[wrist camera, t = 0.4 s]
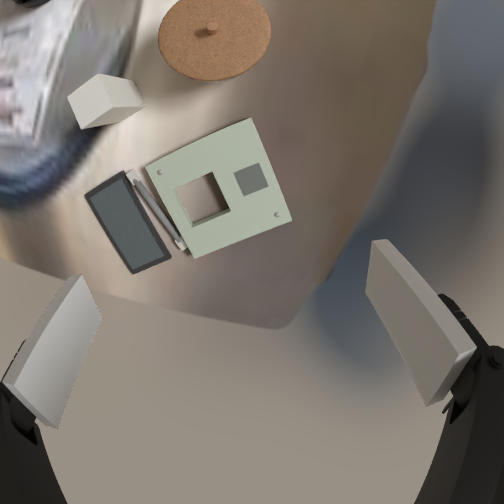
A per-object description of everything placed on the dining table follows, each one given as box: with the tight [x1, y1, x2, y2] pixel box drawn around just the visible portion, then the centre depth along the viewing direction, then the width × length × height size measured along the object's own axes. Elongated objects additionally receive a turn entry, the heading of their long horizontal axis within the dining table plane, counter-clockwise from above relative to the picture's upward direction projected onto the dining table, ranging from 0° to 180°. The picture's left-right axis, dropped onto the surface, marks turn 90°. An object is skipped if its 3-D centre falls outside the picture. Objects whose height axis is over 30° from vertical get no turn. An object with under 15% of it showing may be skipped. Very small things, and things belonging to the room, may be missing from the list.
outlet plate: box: [145, 117, 292, 258], centre depth 34 cm, size 14×14×2 cm
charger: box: [67, 74, 146, 129], centre depth 24 cm, size 4×4×10 cm
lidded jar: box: [158, 0, 271, 82], centre depth 22 cm, size 11×11×9 cm
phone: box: [85, 170, 172, 274], centre depth 37 cm, size 14×7×1 cm, turn 22°
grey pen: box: [126, 169, 188, 251], centre depth 36 cm, size 13×1×1 cm, turn 30°
